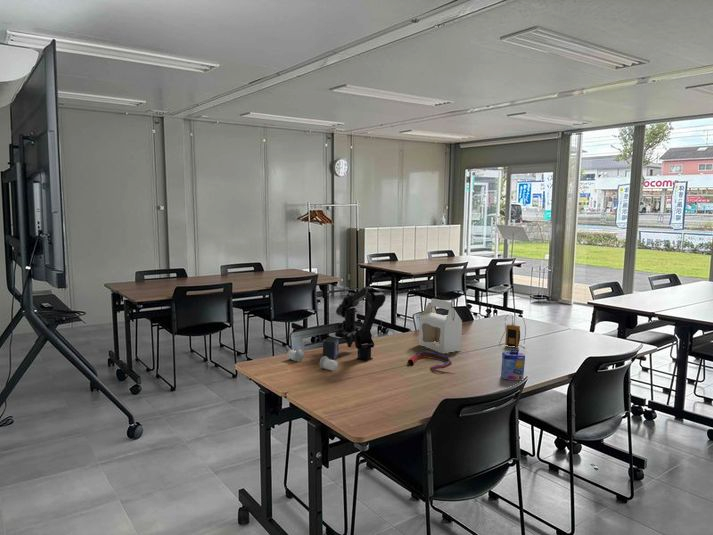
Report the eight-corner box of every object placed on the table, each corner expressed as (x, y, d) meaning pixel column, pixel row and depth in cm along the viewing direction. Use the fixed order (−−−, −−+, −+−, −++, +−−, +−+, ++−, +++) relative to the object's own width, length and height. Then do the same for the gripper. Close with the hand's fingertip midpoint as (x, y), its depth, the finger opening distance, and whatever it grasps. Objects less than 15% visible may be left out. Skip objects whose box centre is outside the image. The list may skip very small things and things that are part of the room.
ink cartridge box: (503, 380, 244) (504, 350, 242) (500, 376, 249) (501, 347, 248) (524, 380, 243) (526, 350, 242) (520, 377, 249) (522, 347, 247)
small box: (334, 361, 267) (334, 342, 266) (322, 360, 268) (322, 341, 267) (339, 356, 277) (339, 337, 276) (327, 355, 279) (327, 336, 278)
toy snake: (474, 369, 262) (475, 360, 262) (449, 377, 247) (449, 366, 246) (425, 357, 284) (426, 348, 284) (399, 363, 269) (399, 353, 268)
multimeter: (528, 346, 307) (530, 313, 305) (523, 349, 299) (525, 315, 297) (503, 342, 315) (505, 310, 313) (498, 345, 307) (500, 312, 304)
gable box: (461, 351, 293) (463, 302, 290) (443, 354, 286) (446, 304, 283) (435, 342, 312) (436, 296, 309) (418, 345, 305) (419, 298, 301)
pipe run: (338, 369, 254) (338, 357, 254) (330, 372, 250) (330, 360, 249) (294, 357, 273) (294, 346, 272) (286, 360, 268) (286, 349, 267)
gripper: (349, 314, 296) (348, 341, 297) (327, 319, 281) (327, 347, 283) (364, 317, 289) (364, 344, 291) (343, 322, 274) (343, 351, 276)
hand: (349, 347), depth 285 cm, fingers closed
